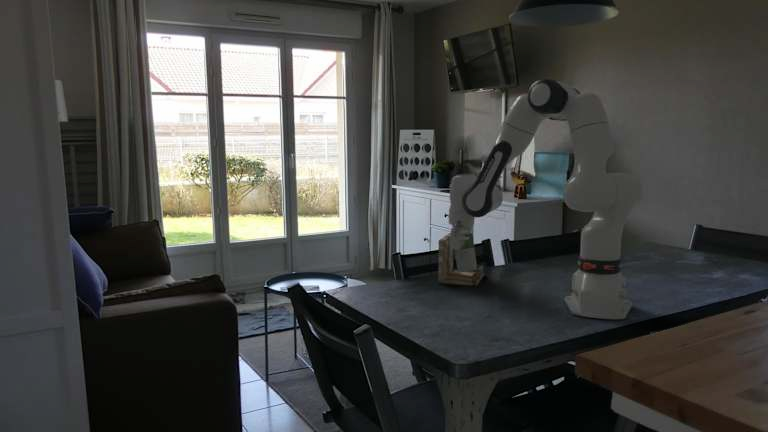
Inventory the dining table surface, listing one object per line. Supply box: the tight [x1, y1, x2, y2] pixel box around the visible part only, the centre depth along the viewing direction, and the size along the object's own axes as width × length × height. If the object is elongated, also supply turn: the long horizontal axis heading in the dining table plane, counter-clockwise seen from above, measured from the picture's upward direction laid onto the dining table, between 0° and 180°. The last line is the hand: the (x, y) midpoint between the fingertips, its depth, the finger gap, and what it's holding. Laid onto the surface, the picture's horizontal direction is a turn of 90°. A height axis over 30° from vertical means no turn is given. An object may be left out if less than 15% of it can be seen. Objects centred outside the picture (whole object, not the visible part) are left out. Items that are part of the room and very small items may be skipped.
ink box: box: [454, 232, 478, 273], centre depth 200 cm, size 7×4×13 cm, turn 88°
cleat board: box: [437, 232, 485, 287], centre depth 200 cm, size 16×13×15 cm
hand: (459, 257), depth 200 cm, fingers closed on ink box, 4 cm apart
